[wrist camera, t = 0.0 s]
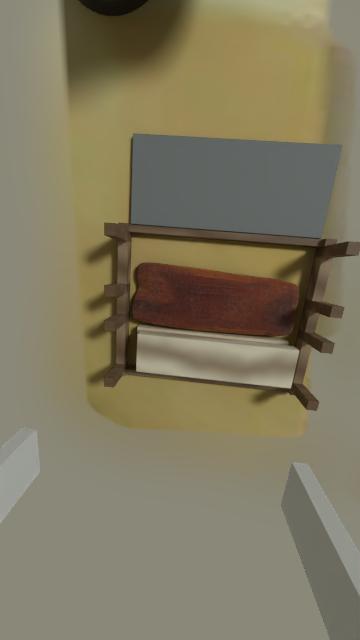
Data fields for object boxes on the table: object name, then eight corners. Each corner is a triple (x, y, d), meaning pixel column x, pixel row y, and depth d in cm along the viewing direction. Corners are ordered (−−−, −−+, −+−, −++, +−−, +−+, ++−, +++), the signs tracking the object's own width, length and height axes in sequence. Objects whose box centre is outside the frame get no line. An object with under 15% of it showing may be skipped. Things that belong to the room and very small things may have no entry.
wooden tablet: (132, 320, 37) (129, 322, 35) (137, 261, 35) (135, 259, 34) (288, 342, 36) (293, 345, 34) (301, 282, 34) (307, 281, 32)
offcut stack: (140, 324, 38) (131, 333, 32) (284, 338, 36) (299, 350, 31) (138, 358, 39) (129, 372, 34) (277, 373, 38) (290, 390, 33)
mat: (134, 136, 31) (133, 133, 31) (339, 147, 30) (342, 145, 29) (131, 224, 34) (130, 223, 33) (318, 238, 33) (321, 238, 32)
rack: (122, 225, 34) (104, 214, 27) (328, 241, 33) (364, 233, 26) (119, 370, 40) (104, 390, 33) (294, 389, 38) (315, 415, 32)
